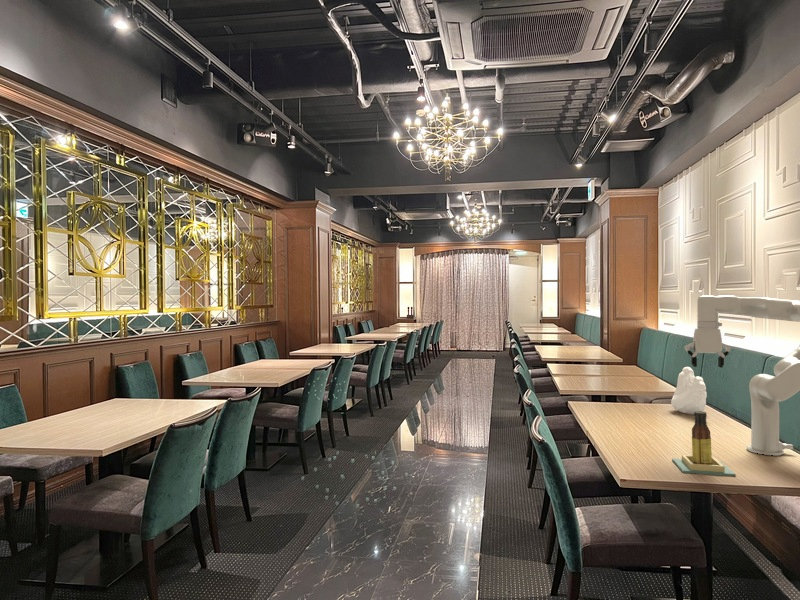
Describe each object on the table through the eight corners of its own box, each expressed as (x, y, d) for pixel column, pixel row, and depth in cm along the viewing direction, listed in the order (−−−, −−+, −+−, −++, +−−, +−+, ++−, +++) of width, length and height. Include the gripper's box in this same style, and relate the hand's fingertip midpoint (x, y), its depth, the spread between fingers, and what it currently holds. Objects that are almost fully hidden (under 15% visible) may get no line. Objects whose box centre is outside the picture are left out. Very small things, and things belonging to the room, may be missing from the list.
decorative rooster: (668, 408, 308) (668, 364, 308) (699, 410, 304) (699, 365, 304) (680, 418, 284) (680, 370, 284) (713, 419, 280) (713, 371, 280)
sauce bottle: (713, 465, 201) (713, 412, 201) (709, 469, 197) (709, 414, 197) (693, 462, 206) (694, 409, 206) (689, 465, 201) (689, 412, 201)
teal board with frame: (721, 463, 206) (721, 456, 206) (735, 476, 192) (735, 468, 192) (672, 460, 210) (672, 453, 210) (682, 472, 196) (682, 464, 196)
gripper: (727, 325, 227) (727, 366, 227) (682, 324, 231) (682, 365, 231) (734, 326, 220) (734, 368, 220) (687, 325, 224) (687, 367, 224)
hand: (707, 366), depth 225 cm, fingers open, 9 cm apart
